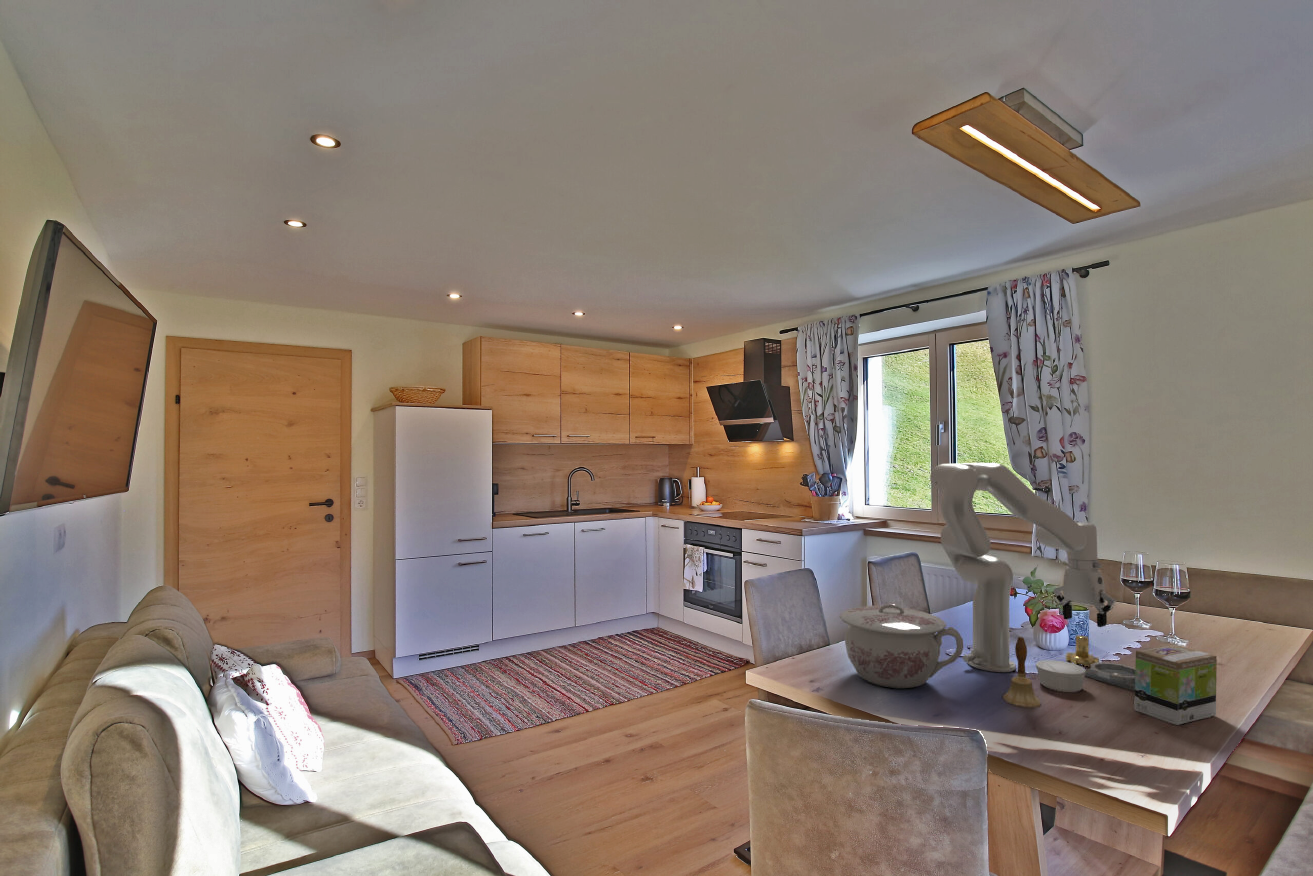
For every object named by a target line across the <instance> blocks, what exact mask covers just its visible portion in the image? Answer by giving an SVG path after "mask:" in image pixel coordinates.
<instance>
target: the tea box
mask: <svg viewBox="0 0 1313 876" xmlns="http://www.w3.org/2000/svg"><path fill="white" fill-rule="evenodd" d="M1217 660H1218V659H1217V655H1215V654H1211V653H1208V652H1207V653H1206V652H1203V651H1200V650H1195V649H1191V648H1188V647H1185V646H1181V645H1176V644H1173V643H1172V644H1165V645H1163V646H1162V645H1160V646H1157V647H1150V648H1144V649H1137V650H1136V651H1135V667H1134V668H1135V691H1134V701H1133V702H1134V711H1136V712H1139V713H1142V714H1144V715H1147V716H1150V717H1152V718H1155V719H1158V720H1161V721H1164V722H1166V723H1169V724H1171V725H1176V726H1179V725H1182V724H1185V723H1186V724H1187V723H1190V722H1194V721H1198V720H1202V719H1208V718H1212V717H1211V716H1213V717H1215V716H1217V715H1216V714H1217V712H1216V711H1217V680H1218V679H1217V677H1218V676H1217V669H1218V666H1217V665H1218V661H1217Z"/></svg>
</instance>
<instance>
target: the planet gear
mask: <svg viewBox="0 0 1313 876" xmlns="http://www.w3.org/2000/svg"><path fill="white" fill-rule="evenodd" d="M1089 643H1090V642H1089V637H1088V636H1085V635H1075V652H1069V651H1068V652H1066V654H1065V661H1066V660H1067V661H1066V662H1069V661H1071V662H1070V663H1074V664H1082V665H1081V666H1083V665H1084V666H1083V667H1086V666H1088V667H1089V668H1090V667H1091V664H1093V663H1098V662H1100V658H1099V657H1095V656H1094V655H1092V654H1089V653H1090V652H1089V648H1090V645H1089Z"/></svg>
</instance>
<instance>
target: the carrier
mask: <svg viewBox="0 0 1313 876" xmlns="http://www.w3.org/2000/svg"><path fill="white" fill-rule="evenodd" d="M1085 671H1086V675H1085V676H1084V677H1086V676H1087V677H1086V678H1090V679H1093V680H1097V681H1100V682H1103V683H1106V684H1110V685H1113V686H1116V687H1119V688H1122V689H1125V690H1129V691H1132V692H1135V667H1132V666H1128V665H1125V664H1121V663H1114V662H1102V661H1101V662H1100V661H1099V662H1098V663H1093V664H1091V666H1090V667H1089V668H1087V669H1085Z"/></svg>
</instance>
